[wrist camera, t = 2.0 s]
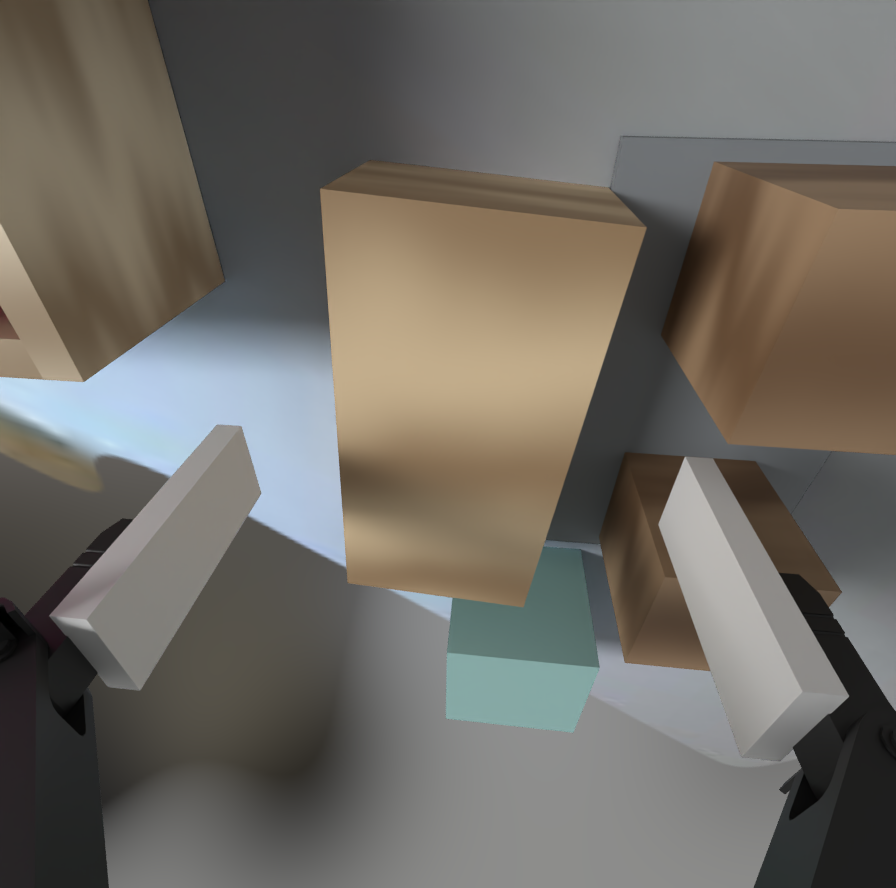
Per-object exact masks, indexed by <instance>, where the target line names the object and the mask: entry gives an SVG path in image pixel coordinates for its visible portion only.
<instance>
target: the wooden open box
mask: <svg viewBox="0 0 896 888" xmlns="http://www.w3.org/2000/svg"><path fill="white" fill-rule="evenodd" d="M223 282H225V279H224V275H223V272H222V268H221V264H220V261H219V257H218V254H217V250H216V246H215V243H214V239H213V235H212V232H211V228H210V225H209V221H208V217H207V214H206V210H205V206H204V203H203V199H202V195H201V192H200V188H199V185H198V181H197V177H196V174H195V170H194V166H193V163H192V159H191V156H190V152H189V148H188V145H187V141H186V137H185V134H184V130H183V127H182V123H181V119H180V116H179V112H178V108H177V105H176V101H175V97H174V94H173V90H172V87H171V83H170V79H169V76H168V72H167V68H166V65H165V61H164V58H163V54H162V50H161V47H160V43H159V39H158V36H157V32H156V29H155V25H154V21H153V18H152V14H151V10H150V7H149V3H148V0H0V377H12V378H28V379H44V380H60V381H76V382H84V381H86V380H87V379H89V378H90V377H92V376H93V375H94V374H96V373H97V372H99V371H100V370H101V369H103V368H104V367H106V366H107V365H108V364H110V363H111V362H113V361H114V360H115V359H117V358H118V357H120V356H121V355H122V354H124V353H125V352H127V351H128V350H129V349H131V348H132V347H134V346H135V345H136V344H138V343H139V342H141V341H142V340H143V339H145V338H146V337H148V336H149V335H150V334H152V333H153V332H155V331H156V330H157V329H159V328H160V327H162V326H163V325H164V324H166V323H167V322H169V321H170V320H172V319H173V318H174V317H176V316H177V315H179V314H180V313H181V312H183V311H184V310H186V309H187V308H188V307H190V306H191V305H193V304H194V303H195V302H197V301H198V300H200V299H201V298H202V297H204V296H205V295H207V294H208V293H209V292H211V291H212V290H214V289H215V288H216V287H218V286H219V285H221V284H222V283H223Z"/></svg>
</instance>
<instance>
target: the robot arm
mask: <svg viewBox="0 0 896 888" xmlns="http://www.w3.org/2000/svg"><path fill="white" fill-rule="evenodd" d="M260 495H261V491H260V487H259V484H258V480H257V477H256V474H255V470H254V467H253V464H252V460H251V457H250V454H249V450H248V447H247V444H246V440H245V437H244V434H243V430H242V427H241V426H231V425H216V426H215V428H214V429H213V430H212V431H211V432H210V433H209V434H208V436H207V437H206V438H205V439H204V440H203V441H202V442H201V444H200V445H199V446H198V447H197V448H196V449H195V450H194V451H193V453H192V454H191V455H190V456H189V457H188V458H187V459H186V461H185V462H184V463H183V464H182V465H181V466H180V467H179V469H178V470H177V471H176V472H175V473H174V474H173V475H172V477H171V478H170V479H169V480H168V481H167V482H166V484H164V486H163V487H162V488H161V489H160V490H159V492H157V494H156V495H155V496H154V497H153V498H152V499H151V500H150V502H149V503H148V504H147V505H146V506H145V507H144V508H143V510H142V511H141V512H140V513H139V514H138V515H137V516H136V518H135V519H121V520H120V521H119V522H117V523H115V524H114V525H112V526H111V527H109V528H108V529H106V530H105V531H103V532H102V533H101V534H100V535H99V536H98V537H97V538H96V539H95V540H94V541H93V542H92V543H91V545H90V546H89V547H88V548H87V549H86V552H85V553H82V554H81V555H80V556H79V557H78V559H77V560H76V561H75V562H74V563H73V564H74V565H73V566H72V567H69V568H68V569H67V570H66V572H65V573H64V574H63V575H62V576H61V577H60V578H59V579H58V580H57V581H56V582H55V583H54V584H53V586H52V587H51V588H50V589H49V590H48V591H47V592H46V593H45V594H44V595H43V596H42V598H40V600H39V601H38V602H37V603H36V604H35V605H34V606H33V607H32V608H31V609H30V610H29V612H28V613H27V614H26V615H25V616H24V615H23V613H22V612H21V611H20V610H19V609H18V608H17V607H16V606H15V604H14V603H13V602H12V601H9V600H7V599H5V598H0V888H109V884H108V873H107V861H106V851H105V838H104V827H103V815H102V805H101V793H100V782H99V770H98V758H97V746H96V735H95V723H94V712H93V702H92V701H93V700H92V695H91V693H90V690H89V688H88V686H89V685H90V683H91V682H92V680H93V679H94V677H95V676H96V675H97V674H98V675H99V677H100V678H101V679H102V680H103V681H104V682H105V684H106V685H107V686H108V687H113V688H122V689H131V690H141V688H142V687H143V685H144V683H145V681H146V680H147V678H148V677H149V675H150V674H151V672H152V670H153V668H154V667H155V665H156V663H157V662H158V661H159V659H160V657H161V656H162V654H163V652H164V651H165V649H166V647H167V646H168V644H169V642H170V641H171V639H172V638H173V636H174V635H175V633H176V631H177V630H178V628H179V626H180V625H181V623H182V622H183V620H184V618H185V617H186V615H187V613H188V612H189V610H190V609H191V607H192V605H193V603H194V602H195V600H196V599H197V597H198V596H199V594H200V592H201V590H202V589H203V587H204V586H205V584H206V583H207V581H208V579H209V578H210V576H211V574H212V573H213V571H214V570H215V568H216V566H217V564H218V563H219V561H220V560H221V558H222V556H223V555H224V553H225V552H226V550H227V548H228V547H229V545H230V543H231V542H232V540H233V539H234V537H235V535H236V534H237V532H238V530H239V529H240V527H241V526H242V524H243V522H244V520H245V519H246V517H247V516H248V514H249V513H250V511H251V509H252V508H253V506H254V504H255V503H256V501H257V500H258V498H259V496H260ZM658 525H659V528H660V531H661V534H662V536H663V539H664V542H665V545H666V548H667V550H668V553H669V556H670V559H671V562H672V564H673V567H674V570H675V573H676V576H677V578H678V581H679V584H680V587H681V590H682V592H683V595H684V598H685V601H686V604H687V606H688V609H689V612H690V615H691V618H692V620H693V623H694V626H695V629H696V632H697V634H698V637H699V640H700V643H701V646H702V648H703V651H704V654H705V657H706V660H707V662H708V665H709V668H710V671H711V674H712V676H713V679H714V682H715V685H716V688H717V690H718V693H719V696H720V699H721V702H722V704H723V707H724V710H725V713H726V716H727V718H728V721H729V724H730V727H731V730H732V732H733V735H734V738H735V741H736V744H737V746H738V749H739V752H740V755H741V757H743V758H752V759H761V760H770V761H781V760H782V759H783V758H784V757H785V756H786V755H788V754H789V753H790V752H791V751H792V750H793V749H794V752H795V754H796V756H797V758H798V761H799V763H800V765H801V767H802V768H801V769H800V770H799V771H798V772H797V773H795V774H794V775H793V776H792V777H791V778H790V779H789V780H787V781H786V782H785V783H784V784H783V786H782V787H781V788H780V789H779V790H780V791H781V792H783V793H784V794H786V793H787V792H788V791H790V792H789V795H788V797H787V800H786V803H785V806H784V808H783V811H782V813H781V816H780V819H779V821H778V824H777V827H776V829H775V832H774V835H773V837H772V840H771V843H770V845H769V848H768V851H767V853H766V856H765V859H764V861H763V864H762V867H761V869H760V872H759V875H758V877H757V880H756V883H755V885H754V888H896V711H895V710H894V709H893V707H892V706H891V705H890V703H889V702H888V700H887V699H886V697H885V695H884V694H883V692H882V691H881V689H880V688H879V686H878V684H877V683H876V681H875V680H874V678H873V676H872V675H871V673H870V672H869V670H868V669H867V667H866V665H865V664H864V662H863V661H862V659H861V658H860V656H859V654H858V653H857V651H856V650H855V648H854V646H853V645H852V643H851V642H850V640H849V639H848V637H845V635H844V634H845V632H844V631H843V629H842V628H841V626H840V624H839V623H838V621H837V620H836V619H834V618H833V613H832V612H831V610H830V609H829V607H828V605H827V604H826V602H825V601H824V599H823V598H822V596H821V594H820V593H819V592H818V591H817V590H816V589H814V588H813V587H812V586H811V585H810V584H809V583H808V582H807V581H806V580H805V579H804V578H803V577H801V576H800V575H799V574H789V573H778V571H777V569H776V568H775V566H774V564H773V562H772V561H771V559H770V557H769V555H768V554H767V552H766V550H765V548H764V547H763V545H762V543H761V541H760V540H759V538H758V536H757V534H756V533H755V531H754V529H753V528H752V526H751V524H750V522H749V521H748V519H747V517H746V515H745V514H744V512H743V510H742V508H741V507H740V505H739V503H738V501H737V500H736V498H735V496H734V494H733V493H732V491H731V489H730V487H729V486H728V484H727V482H726V480H725V479H724V477H723V475H722V473H721V472H720V470H719V468H718V467H717V465H716V463H715V461H714V460H713V458H699V457H685V458H684V460H683V463H682V466H681V468H680V471H679V473H678V476H677V478H676V481H675V483H674V486H673V488H672V491H671V493H670V496H669V498H668V501H667V504H666V506H665V509H664V511H663V514H662V516H661V519H660V521H659V524H658Z"/></svg>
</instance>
